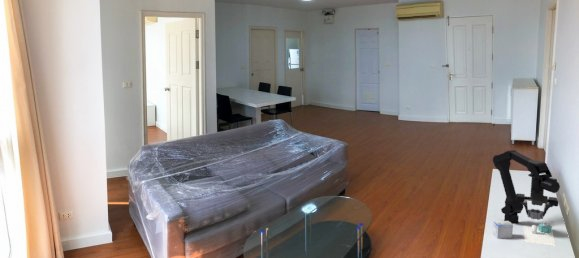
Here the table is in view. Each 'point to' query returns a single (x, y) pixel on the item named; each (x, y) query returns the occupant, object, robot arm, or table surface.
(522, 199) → the robot arm
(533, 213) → the gear
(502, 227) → the medicine box
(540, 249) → the table surface
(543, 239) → the gear board
